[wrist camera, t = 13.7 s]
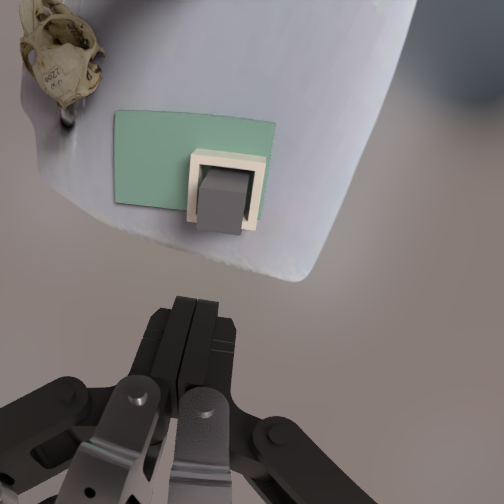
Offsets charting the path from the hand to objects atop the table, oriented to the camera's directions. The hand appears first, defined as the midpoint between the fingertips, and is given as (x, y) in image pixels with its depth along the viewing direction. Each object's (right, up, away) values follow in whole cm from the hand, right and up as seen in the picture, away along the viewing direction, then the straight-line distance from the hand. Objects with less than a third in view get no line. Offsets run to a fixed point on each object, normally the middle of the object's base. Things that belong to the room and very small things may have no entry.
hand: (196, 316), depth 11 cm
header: (-1, +10, +26) cm, 28 cm away
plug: (-1, +10, +26) cm, 28 cm away
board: (-6, +13, +25) cm, 29 cm away
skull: (-19, +28, +17) cm, 38 cm away
